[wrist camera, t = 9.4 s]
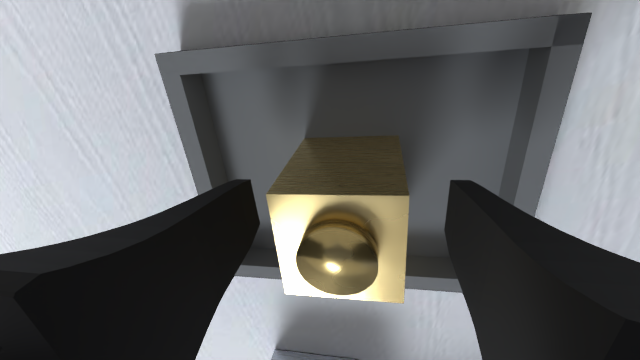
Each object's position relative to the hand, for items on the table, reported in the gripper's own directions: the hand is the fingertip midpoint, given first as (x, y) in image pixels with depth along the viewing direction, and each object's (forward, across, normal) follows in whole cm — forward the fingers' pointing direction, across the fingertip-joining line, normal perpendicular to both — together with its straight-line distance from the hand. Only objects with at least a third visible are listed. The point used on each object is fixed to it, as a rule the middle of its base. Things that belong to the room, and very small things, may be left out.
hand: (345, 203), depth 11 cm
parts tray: (+3, 0, 0) cm, 3 cm away
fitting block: (+3, 0, 0) cm, 3 cm away
